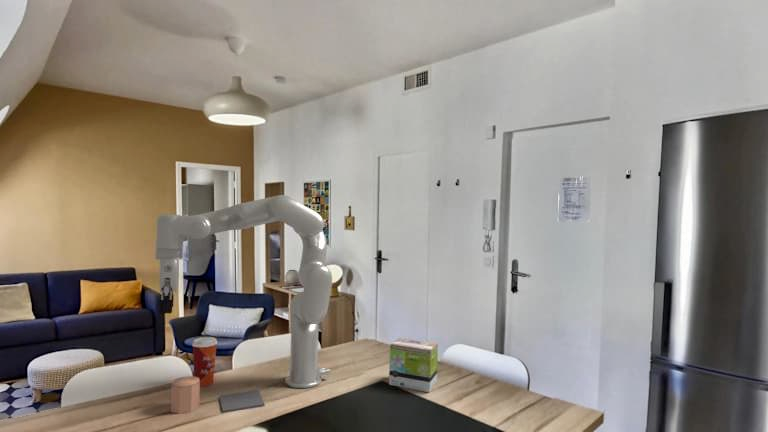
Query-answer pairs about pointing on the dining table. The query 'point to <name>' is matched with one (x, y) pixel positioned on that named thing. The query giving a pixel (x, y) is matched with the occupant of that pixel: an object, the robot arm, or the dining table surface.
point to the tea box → (413, 364)
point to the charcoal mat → (241, 401)
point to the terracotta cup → (185, 394)
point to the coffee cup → (204, 359)
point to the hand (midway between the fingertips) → (166, 310)
